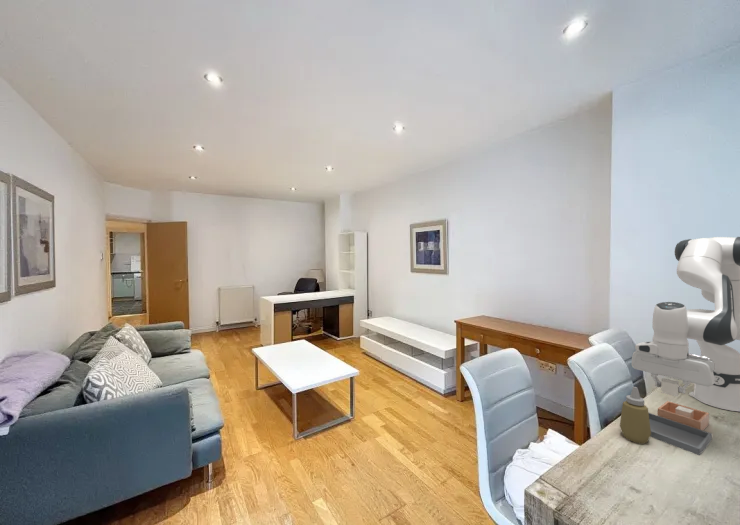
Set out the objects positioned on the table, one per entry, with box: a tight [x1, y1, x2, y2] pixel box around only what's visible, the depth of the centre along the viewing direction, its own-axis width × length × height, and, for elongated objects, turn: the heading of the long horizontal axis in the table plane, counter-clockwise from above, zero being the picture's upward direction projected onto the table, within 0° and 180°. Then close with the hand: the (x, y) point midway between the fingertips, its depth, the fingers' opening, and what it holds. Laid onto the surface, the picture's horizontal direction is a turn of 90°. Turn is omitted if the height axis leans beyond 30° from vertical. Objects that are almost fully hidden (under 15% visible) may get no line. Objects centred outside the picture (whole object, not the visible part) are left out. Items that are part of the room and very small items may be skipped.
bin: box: [657, 400, 710, 431], centre depth 113 cm, size 11×11×5 cm
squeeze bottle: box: [619, 386, 651, 445], centre depth 103 cm, size 8×8×18 cm
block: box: [660, 377, 680, 397], centre depth 104 cm, size 4×4×4 cm
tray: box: [649, 412, 713, 456], centre depth 105 cm, size 15×17×3 cm
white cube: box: [675, 406, 694, 419], centre depth 114 cm, size 4×4×4 cm
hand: (669, 389), depth 104 cm, fingers closed on block, 4 cm apart
